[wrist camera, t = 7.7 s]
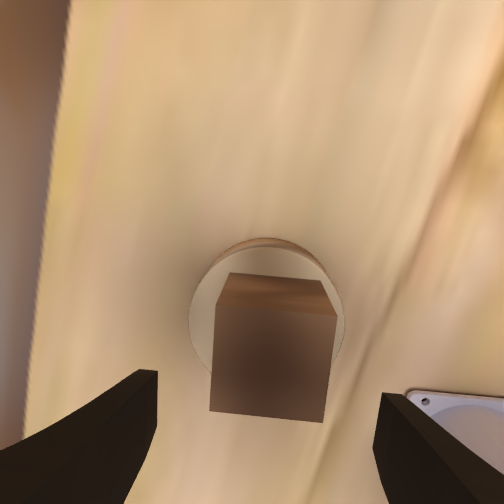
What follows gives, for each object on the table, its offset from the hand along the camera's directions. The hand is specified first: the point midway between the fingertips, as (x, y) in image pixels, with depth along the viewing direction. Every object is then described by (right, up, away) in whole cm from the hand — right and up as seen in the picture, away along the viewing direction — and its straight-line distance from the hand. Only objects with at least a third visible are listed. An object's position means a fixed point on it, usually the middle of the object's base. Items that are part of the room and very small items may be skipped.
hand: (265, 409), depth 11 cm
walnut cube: (+1, +2, +7) cm, 7 cm away
